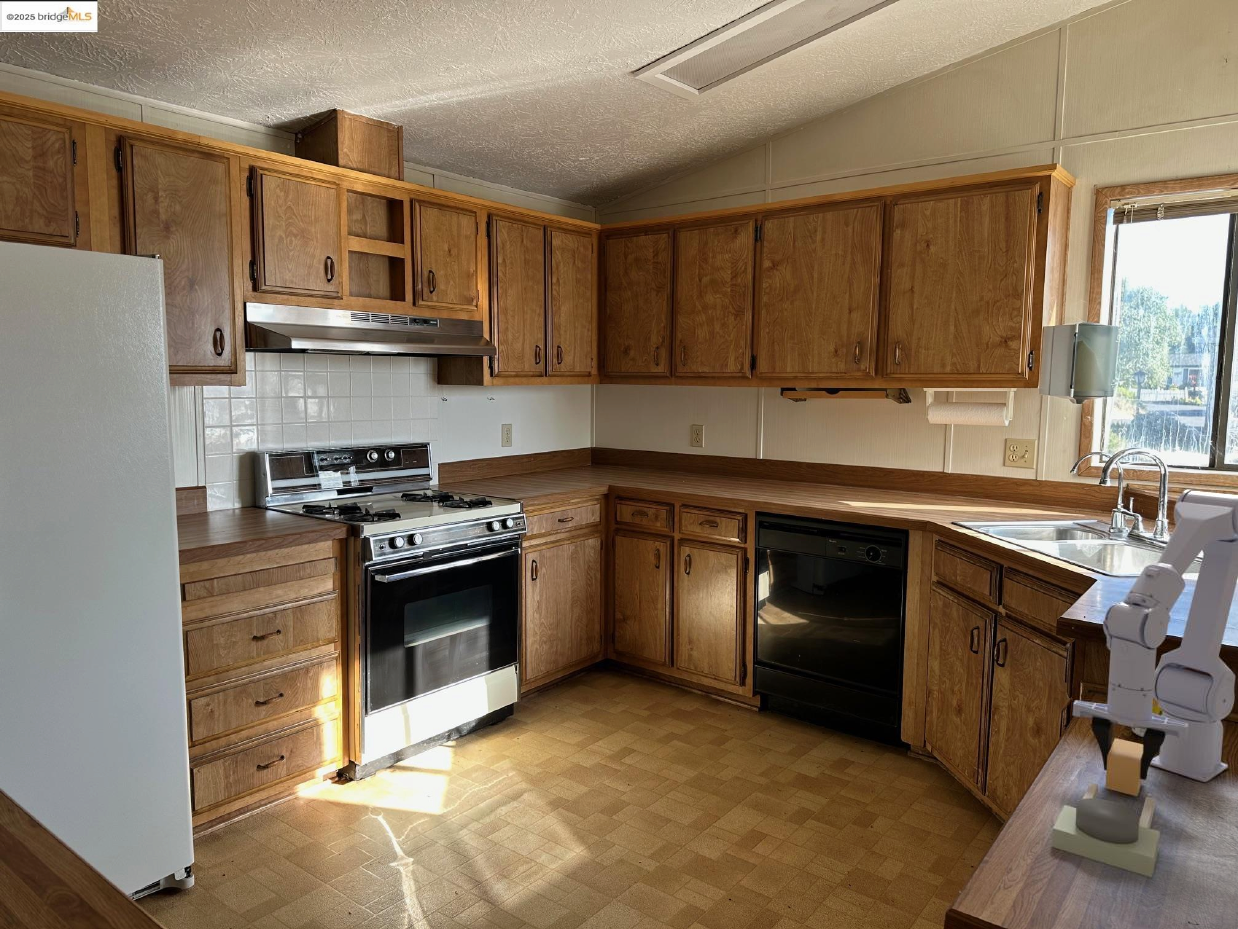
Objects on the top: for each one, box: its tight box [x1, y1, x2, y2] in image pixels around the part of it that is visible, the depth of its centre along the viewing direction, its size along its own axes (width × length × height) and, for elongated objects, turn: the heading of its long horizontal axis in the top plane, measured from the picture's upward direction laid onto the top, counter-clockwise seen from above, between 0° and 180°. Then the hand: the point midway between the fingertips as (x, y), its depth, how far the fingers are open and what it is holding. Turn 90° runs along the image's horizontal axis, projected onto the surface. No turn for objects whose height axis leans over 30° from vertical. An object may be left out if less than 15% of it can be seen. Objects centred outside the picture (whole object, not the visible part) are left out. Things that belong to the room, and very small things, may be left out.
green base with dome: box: [1051, 781, 1161, 878], centre depth 112 cm, size 20×11×5 cm, turn 142°
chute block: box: [1105, 737, 1144, 797], centre depth 125 cm, size 8×4×5 cm, turn 142°
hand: (1125, 772), depth 125 cm, fingers closed on chute block, 4 cm apart
